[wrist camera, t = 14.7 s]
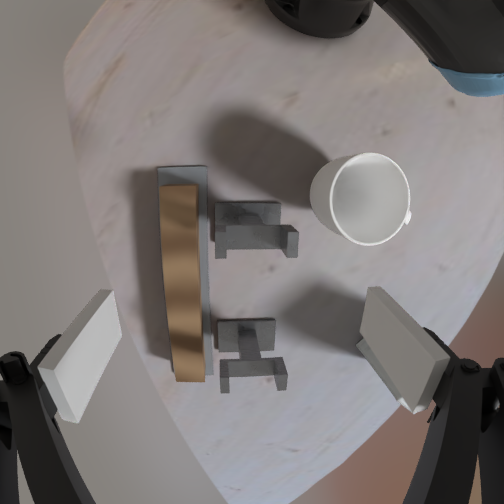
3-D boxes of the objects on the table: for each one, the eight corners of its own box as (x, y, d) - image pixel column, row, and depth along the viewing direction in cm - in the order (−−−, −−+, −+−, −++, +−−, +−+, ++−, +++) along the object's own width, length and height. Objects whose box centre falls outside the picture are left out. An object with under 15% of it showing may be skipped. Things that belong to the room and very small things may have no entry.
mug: (288, 214, 38) (317, 231, 26) (308, 148, 36) (345, 137, 24) (366, 239, 40) (414, 263, 28) (385, 179, 38) (439, 184, 26)
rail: (165, 184, 35) (159, 186, 31) (198, 183, 35) (195, 185, 32) (179, 365, 42) (176, 381, 38) (205, 365, 43) (204, 382, 39)
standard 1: (215, 202, 37) (211, 217, 26) (279, 203, 37) (302, 217, 27) (215, 242, 38) (212, 272, 28) (278, 242, 39) (299, 270, 28)
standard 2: (217, 320, 41) (216, 368, 31) (275, 318, 42) (290, 365, 31) (218, 349, 42) (219, 401, 32) (273, 348, 43) (287, 397, 33)
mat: (158, 167, 35) (157, 167, 34) (207, 166, 35) (206, 166, 35) (174, 373, 43) (174, 374, 43) (213, 373, 44) (213, 375, 43)
